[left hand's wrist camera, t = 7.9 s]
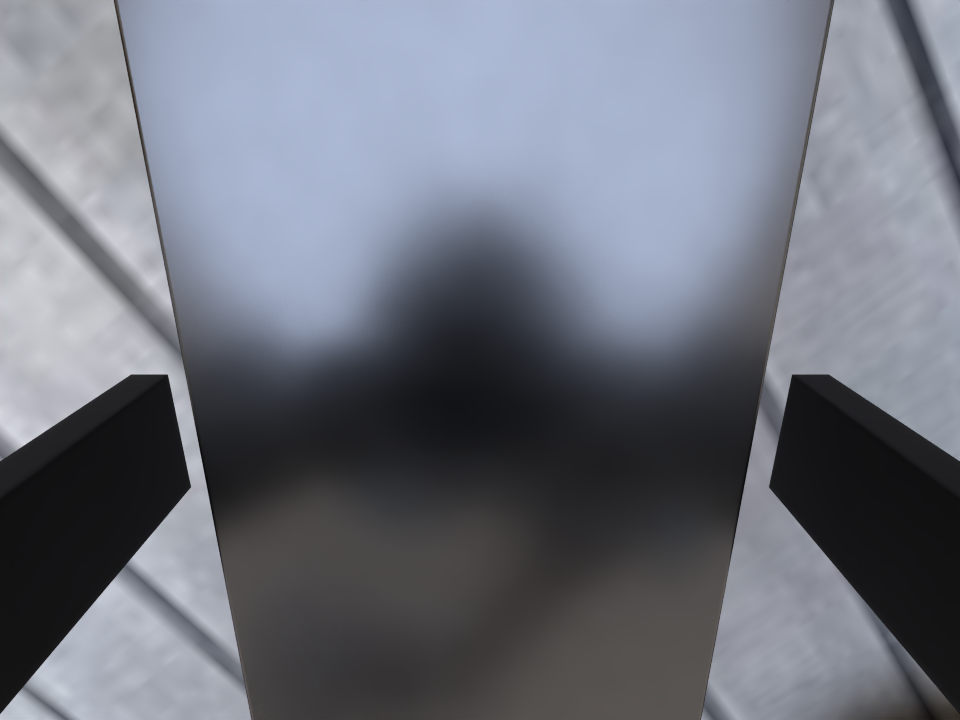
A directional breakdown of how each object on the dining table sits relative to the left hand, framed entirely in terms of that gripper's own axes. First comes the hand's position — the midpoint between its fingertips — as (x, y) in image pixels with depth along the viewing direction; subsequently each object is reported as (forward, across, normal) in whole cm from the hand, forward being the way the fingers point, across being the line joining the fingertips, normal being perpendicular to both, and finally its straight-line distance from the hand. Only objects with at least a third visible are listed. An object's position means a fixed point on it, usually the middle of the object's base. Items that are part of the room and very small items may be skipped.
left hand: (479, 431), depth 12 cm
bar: (+3, 0, -9) cm, 9 cm away
